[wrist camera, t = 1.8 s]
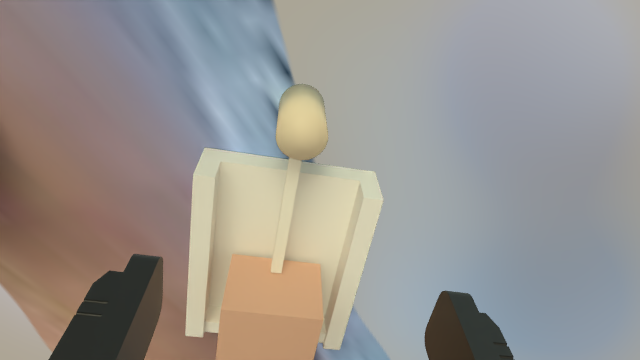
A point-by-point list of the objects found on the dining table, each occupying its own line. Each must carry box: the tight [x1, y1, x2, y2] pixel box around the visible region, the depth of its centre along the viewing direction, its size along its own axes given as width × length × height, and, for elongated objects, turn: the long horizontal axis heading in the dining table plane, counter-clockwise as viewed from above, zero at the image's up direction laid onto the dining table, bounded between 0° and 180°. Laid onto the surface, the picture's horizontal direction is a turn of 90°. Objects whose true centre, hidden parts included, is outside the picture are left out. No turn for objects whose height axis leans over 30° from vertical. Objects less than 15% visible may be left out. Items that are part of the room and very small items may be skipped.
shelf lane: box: [185, 148, 383, 350], centre depth 30 cm, size 13×11×4 cm
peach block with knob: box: [216, 84, 328, 360], centre depth 27 cm, size 17×6×6 cm, turn 170°
